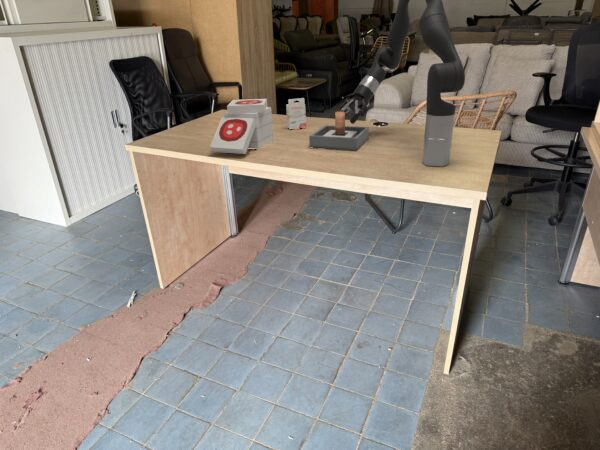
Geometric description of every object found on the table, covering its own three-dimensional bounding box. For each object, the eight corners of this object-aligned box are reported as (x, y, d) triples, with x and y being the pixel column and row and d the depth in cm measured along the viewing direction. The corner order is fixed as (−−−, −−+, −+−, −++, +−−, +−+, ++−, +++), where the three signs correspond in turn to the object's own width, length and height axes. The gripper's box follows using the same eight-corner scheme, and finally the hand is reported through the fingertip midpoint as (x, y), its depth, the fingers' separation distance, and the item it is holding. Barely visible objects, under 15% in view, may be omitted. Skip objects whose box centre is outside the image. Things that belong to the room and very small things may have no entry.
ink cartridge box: (303, 126, 211) (302, 96, 204) (306, 128, 206) (305, 97, 200) (287, 128, 209) (285, 97, 203) (289, 130, 205) (287, 99, 198)
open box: (356, 151, 167) (356, 138, 165) (309, 147, 174) (309, 135, 172) (368, 138, 184) (368, 127, 182) (325, 136, 191) (325, 125, 189)
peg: (343, 142, 176) (343, 113, 171) (334, 141, 178) (334, 112, 173) (346, 139, 180) (346, 111, 174) (337, 139, 181) (336, 111, 176)
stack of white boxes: (207, 156, 170) (200, 110, 162) (242, 138, 195) (238, 97, 187) (248, 159, 163) (244, 112, 155) (280, 140, 188) (277, 98, 180)
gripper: (350, 82, 180) (329, 113, 180) (373, 85, 169) (350, 118, 169) (359, 93, 185) (339, 123, 184) (382, 97, 174) (360, 129, 173)
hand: (344, 121), depth 177 cm, fingers open, 8 cm apart
